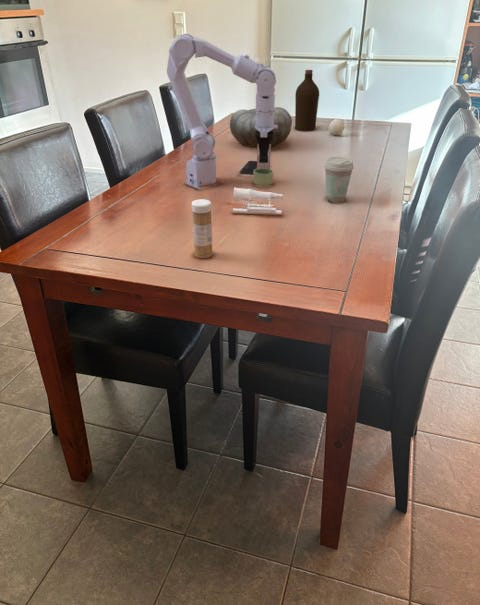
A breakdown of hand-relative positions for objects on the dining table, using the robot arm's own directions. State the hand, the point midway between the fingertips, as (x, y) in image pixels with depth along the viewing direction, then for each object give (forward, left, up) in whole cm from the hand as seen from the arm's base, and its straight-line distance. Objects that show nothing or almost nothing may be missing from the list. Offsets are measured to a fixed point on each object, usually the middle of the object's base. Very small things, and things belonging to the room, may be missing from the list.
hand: (263, 155), depth 163 cm
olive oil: (+69, +45, -10) cm, 83 cm away
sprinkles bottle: (-47, -29, -10) cm, 56 cm away
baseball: (+70, +28, -6) cm, 76 cm away
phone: (+8, +13, -10) cm, 18 cm away
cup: (0, 0, -10) cm, 10 cm away
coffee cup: (+7, -25, -10) cm, 28 cm away
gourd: (+34, +38, -10) cm, 52 cm away
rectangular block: (0, 0, -4) cm, 4 cm away
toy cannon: (-18, -17, -10) cm, 27 cm away
